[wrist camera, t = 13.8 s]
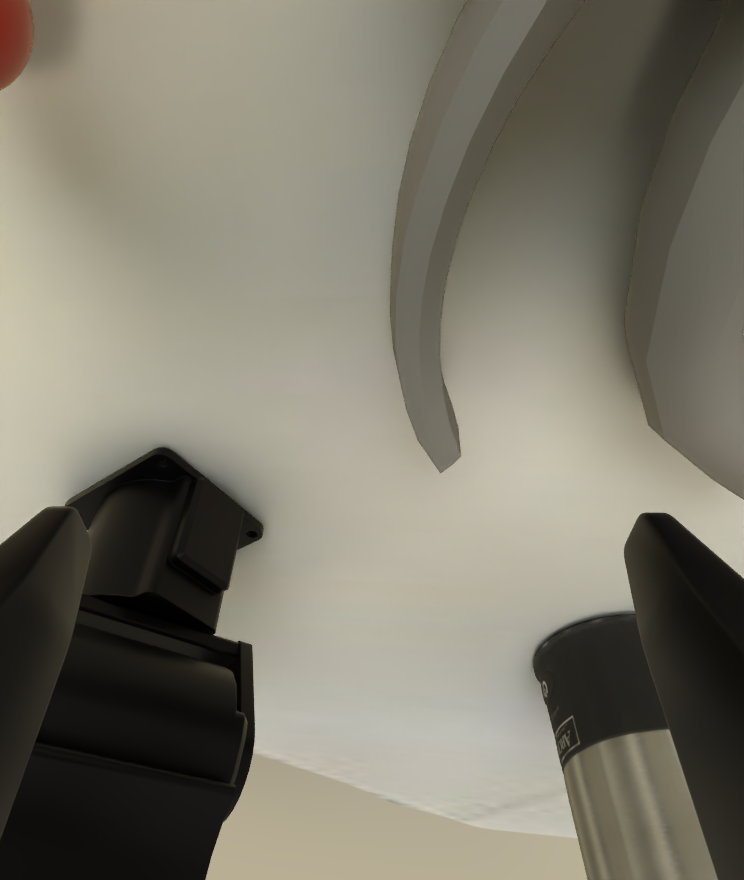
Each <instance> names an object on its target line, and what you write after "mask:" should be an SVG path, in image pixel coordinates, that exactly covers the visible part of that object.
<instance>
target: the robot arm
mask: <svg viewBox="0 0 744 880" xmlns="http://www.w3.org/2000/svg"><path fill="white" fill-rule="evenodd" d="M160 458H162V459H165V460H166V461H165V460H161V459H160ZM87 530H88V532H87ZM263 530H264V528H263V525H262V524H261V523H260V522H259V521H258V520H256V519H255V518H254V517H253V516H251V515H250V514H249V513H248V512H247V511H245V510H244V509H243V508H242V507H240V506H239V505H238V504H237V503H236V502H234V501H233V500H232V499H231V498H229V497H228V496H227V495H226V494H225V493H223V492H222V491H221V490H220V489H218V488H217V487H216V486H215V485H214V484H212V483H211V482H210V481H209V480H207V479H206V478H205V477H204V476H203V475H201V474H200V473H199V472H198V471H196V470H195V469H194V468H193V467H191V466H190V465H189V464H188V463H187V462H185V461H184V460H183V459H182V458H180V457H179V456H178V455H177V454H176V453H174V452H173V451H172V450H170V449H168V448H164V447H159V448H156V449H154V450H152V451H150V452H149V453H147V454H145V455H144V456H142V457H140V458H139V459H137V460H135V461H133V462H132V463H130V464H128V465H127V466H125V467H123V468H122V469H120V470H118V471H117V472H115V473H113V474H112V475H110V476H108V477H106V478H105V479H103V480H101V481H100V482H98V483H96V484H95V485H93V486H91V487H90V488H88V489H86V490H84V491H83V492H81V493H79V494H78V495H76V496H74V497H73V498H71V499H69V500H68V501H67V502H66V504H65V506H64V507H48V508H45V509H44V510H42V511H41V512H40V513H38V514H37V515H36V516H35V517H34V518H32V519H31V520H30V521H29V522H27V523H26V524H25V525H24V526H23V527H21V528H20V529H19V530H18V531H16V532H15V533H14V534H13V535H12V536H10V537H9V538H8V539H7V540H5V541H4V542H3V543H2V544H1V545H0V880H205V879H206V875H207V871H208V867H209V863H210V859H211V856H212V853H213V850H214V847H215V844H216V841H217V838H218V835H219V832H220V829H221V826H222V823H223V822H224V821H225V820H226V819H227V818H228V816H229V815H230V813H231V812H232V811H233V809H234V807H235V805H236V803H237V801H238V799H239V797H240V795H241V792H242V789H243V787H244V785H245V781H246V778H247V775H248V772H249V768H250V764H251V759H252V755H253V748H254V739H255V718H254V686H253V654H252V645H251V644H248V643H245V642H242V641H238V642H234V641H231V640H228V639H225V638H221V637H218V636H215V635H213V634H215V632H216V627H217V623H218V618H219V613H220V608H221V603H222V599H223V594H224V591H225V590H228V588H229V585H230V580H231V575H232V570H233V565H234V560H235V555H236V551H237V550H238V549H240V548H242V547H244V546H247V545H249V544H251V543H253V542H255V541H257V540H259V539H261V538H262V535H263ZM624 558H625V564H626V569H627V574H628V579H629V583H630V588H631V593H632V598H633V603H634V608H635V613H636V618H637V623H638V628H639V633H640V637H641V641H642V646H643V649H644V652H645V656H646V659H647V662H648V665H649V668H650V672H651V675H652V678H653V681H654V684H655V687H656V690H657V693H658V696H659V699H660V702H661V706H662V709H663V712H664V715H665V718H666V721H667V724H668V727H669V730H670V733H671V737H672V740H673V743H674V746H675V749H676V752H677V755H678V758H679V761H680V764H681V767H682V771H683V774H684V777H685V780H686V783H687V786H688V789H689V792H690V795H691V798H692V801H693V805H694V808H695V811H696V814H697V817H698V820H699V823H700V826H701V829H702V832H703V835H704V839H705V842H706V845H707V848H708V851H709V854H710V857H711V860H712V863H713V866H714V870H715V873H716V876H717V879H718V880H744V579H743V578H742V577H741V576H740V575H739V574H738V573H737V572H735V571H734V570H733V569H732V568H731V567H730V566H729V565H727V564H726V563H725V562H724V561H723V560H722V559H721V558H719V557H718V556H717V555H716V554H715V553H714V552H713V551H711V550H710V549H709V548H708V547H707V546H706V545H705V544H703V543H702V542H701V541H700V540H699V539H698V538H696V537H695V536H694V535H693V534H692V533H691V532H690V531H688V530H687V529H686V528H685V527H684V526H683V525H682V524H680V523H679V522H678V521H677V520H676V519H675V518H674V517H672V516H671V515H669V514H667V513H642V514H641V515H640V516H639V517H638V518H637V520H636V523H635V525H634V527H633V529H632V531H631V533H630V535H629V537H628V539H627V541H626V544H625V548H624Z"/></svg>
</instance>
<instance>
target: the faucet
mask: <svg viewBox="0 0 744 880" xmlns="http://www.w3.org/2000/svg"><path fill="white" fill-rule="evenodd" d="M584 1H585V0H467V2H466V3H465V5H464V7H463V9H462V11H461V13H460V15H459V16H458V18H457V20H456V23H455V25H454V27H453V29H452V32H451V34H450V36H449V39H448V41H447V43H446V46H445V48H444V50H443V53H442V55H441V57H440V60H439V62H438V64H437V67H436V69H435V71H434V73H433V76H432V78H431V80H430V83H429V86H428V89H427V92H426V95H425V98H424V101H423V104H422V107H421V110H420V113H419V116H418V119H417V122H416V125H415V128H414V131H413V134H412V138H411V141H410V145H409V149H408V154H407V158H406V163H405V168H404V172H403V177H402V181H401V186H400V190H399V195H398V203H397V212H396V220H395V229H394V238H393V248H392V263H391V293H390V317H391V328H392V340H393V350H394V355H395V360H396V364H397V369H398V374H399V379H400V383H401V388H402V392H403V396H404V401H405V405H406V410H407V412H408V415H409V418H410V421H411V423H412V426H413V429H414V431H415V434H416V437H417V440H418V441H419V443H420V444H421V446H422V447H423V449H424V450H425V452H426V453H427V454H428V456H429V457H430V459H431V460H432V462H433V463H434V465H435V466H436V468H437V469H438V471H439V472H440V473H442V472H443V471H444V470H446V469H447V468H448V467H450V466H451V465H452V464H453V463H454V462H455V461H456V460H458V459H459V458H460V457H461V452H460V441H459V429H458V425H457V421H456V417H455V413H454V410H453V406H452V403H451V400H450V397H449V395H448V392H447V389H446V386H445V383H444V379H443V375H442V371H441V362H440V322H441V314H442V307H443V299H444V292H445V284H446V279H447V275H448V271H449V267H450V263H451V259H452V255H453V251H454V246H455V242H456V239H457V236H458V233H459V230H460V227H461V224H462V221H463V218H464V215H465V212H466V210H467V207H468V204H469V201H470V198H471V195H472V193H473V190H474V188H475V186H476V183H477V181H478V179H479V176H480V174H481V172H482V169H483V167H484V165H485V162H486V160H487V158H488V155H489V153H490V151H491V149H492V146H493V144H494V142H495V140H496V139H497V137H498V135H499V133H500V131H501V129H502V127H503V126H504V124H505V122H506V120H507V118H508V116H509V114H510V113H511V111H512V109H513V107H514V105H515V103H516V101H517V100H518V98H519V96H520V94H521V92H522V91H523V89H524V88H525V86H526V85H527V83H528V82H529V80H530V79H531V77H532V76H533V74H534V72H535V71H536V69H537V68H538V66H539V65H540V63H541V62H542V60H543V59H544V57H545V56H546V54H547V53H548V51H549V49H550V48H551V46H552V45H553V43H554V42H555V40H556V39H557V38H558V36H559V35H560V34H561V32H562V31H563V30H564V28H565V27H566V26H567V24H568V23H569V21H570V20H571V19H572V17H573V16H574V15H575V13H576V12H577V11H578V9H579V8H580V7H581V5H582V4H583V3H584ZM710 1H712V0H710ZM624 325H625V332H626V339H627V345H628V348H629V352H630V356H631V360H632V364H633V368H634V372H635V375H636V379H637V383H638V387H639V391H640V395H641V399H642V402H643V406H644V410H645V414H646V418H647V422H648V425H649V426H650V427H651V428H652V429H653V430H654V431H655V432H656V433H657V434H659V435H660V436H661V437H662V438H663V439H664V440H665V441H666V442H667V443H669V444H670V445H671V446H672V447H673V448H675V449H676V450H677V451H678V452H680V453H681V454H682V455H683V456H684V457H686V458H687V459H688V460H689V461H691V462H692V463H693V464H694V465H695V466H697V467H698V468H699V469H700V470H701V471H703V472H704V473H705V474H706V475H708V476H709V477H710V478H711V479H712V480H714V481H716V482H717V483H719V484H720V485H722V486H723V487H725V488H726V489H728V490H729V491H731V492H733V493H734V494H736V495H737V496H739V497H740V498H742V499H743V500H744V339H743V333H742V332H743V330H744V0H729V1H728V3H727V5H726V7H725V9H724V11H723V13H722V15H721V17H720V19H719V21H718V23H717V25H716V27H715V29H714V31H713V34H712V36H711V38H710V40H709V42H708V44H707V46H706V48H705V50H704V52H703V54H702V56H701V58H700V60H699V62H698V64H697V66H696V68H695V70H694V72H693V74H692V76H691V78H690V80H689V82H688V84H687V86H686V88H685V90H684V92H683V94H682V96H681V98H680V100H679V102H678V104H677V106H676V108H675V111H674V113H673V116H672V119H671V122H670V124H669V127H668V130H667V133H666V136H665V139H664V142H663V145H662V148H661V151H660V154H659V157H658V160H657V163H656V166H655V169H654V172H653V175H652V177H651V180H650V183H649V186H648V189H647V192H646V195H645V198H644V201H643V204H642V207H641V210H640V215H639V222H638V229H637V236H636V243H635V250H634V257H633V264H632V271H631V278H630V285H629V292H628V299H627V306H626V313H625V320H624Z"/></svg>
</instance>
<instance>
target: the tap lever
mask: <svg viewBox="0 0 744 880" xmlns="http://www.w3.org/2000/svg"><path fill="white" fill-rule="evenodd" d="M33 36H34V35H33V17H32V12H31V7H30V3H29V0H0V90H2V89H4V88H6V87H7V86H9V85H10V84H11V83H12V82H13V81H14V80H15V79H16V78H17V77H18V76H19V75H20V74H21V72H22V71H23V69H24V68H25V66H26V64H27V62H28V59H29V56H30V53H31V50H32V44H33Z"/></svg>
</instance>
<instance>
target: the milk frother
mask: <svg viewBox="0 0 744 880" xmlns="http://www.w3.org/2000/svg"><path fill="white" fill-rule="evenodd" d="M533 668H534V672H535V676H536V678H537V679H538V681H539V682H540V683H541V688H542V694H543V697H544V701H545V704H546V705H547V708H548V712H549V716H550V720H551V724H552V728H553V732H554V735H555V740H556V745H557V751H558V755H559V759H560V763H561V766H562V771H563V774H564V779H565V784H566V789H567V793H568V798H569V803H570V807H571V811H572V816H573V820H574V824H575V828H576V832H577V836H578V841H579V845H580V849H581V853H582V858H583V862H584V866H585V870H586V875H587V879H588V880H718V879H717V876H716V873H715V870H714V866H713V863H712V860H711V857H710V854H709V851H708V848H707V845H706V842H705V839H704V835H703V832H702V829H701V826H700V823H699V820H698V817H697V814H696V811H695V808H694V805H693V801H692V798H691V795H690V792H689V789H688V786H687V783H686V780H685V777H684V774H683V771H682V767H681V764H680V761H679V758H678V755H677V752H676V749H675V746H674V743H673V740H672V737H671V733H670V730H669V727H668V724H667V721H666V718H665V715H664V712H663V709H662V706H661V702H660V699H659V696H658V693H657V690H656V687H655V684H654V681H653V678H652V675H651V672H650V668H649V665H648V662H647V659H646V656H645V652H644V649H643V646H642V641H641V637H640V633H639V628H638V623H637V618H636V615H618V616H612V617H604V618H599V619H596V620H593V621H587V622H584V623H582V624H579V625H576V626H573V627H570V628H568V629H566V630H564V631H562V632H560V633H559V634H557V635H555V636H554V637H552V638H551V639H549V640H548V641H547V642H546V643H544V644H543V646H542V647H541V648H540V650H539V651H538V653H537V654H536V656H535V659H534V664H533Z"/></svg>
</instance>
